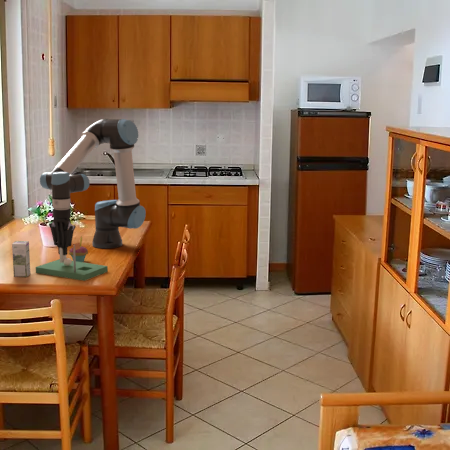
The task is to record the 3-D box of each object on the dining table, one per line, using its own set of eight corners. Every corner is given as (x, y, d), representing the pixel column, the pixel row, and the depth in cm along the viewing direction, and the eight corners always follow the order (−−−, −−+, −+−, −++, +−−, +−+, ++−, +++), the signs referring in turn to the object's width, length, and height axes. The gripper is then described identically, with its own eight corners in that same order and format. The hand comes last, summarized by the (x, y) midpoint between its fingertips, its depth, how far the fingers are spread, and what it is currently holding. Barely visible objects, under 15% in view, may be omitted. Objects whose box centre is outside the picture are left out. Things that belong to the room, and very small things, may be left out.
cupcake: (80, 258, 297) (79, 233, 295) (92, 261, 292) (91, 235, 290) (65, 261, 291) (64, 236, 288) (77, 264, 285) (76, 238, 283)
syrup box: (30, 273, 270) (29, 240, 267) (27, 277, 264) (25, 243, 262) (17, 273, 270) (15, 240, 267) (13, 277, 264) (11, 243, 261)
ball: (73, 257, 274) (73, 265, 274) (67, 256, 275) (67, 264, 276) (67, 259, 271) (68, 267, 271) (61, 258, 272) (62, 266, 273)
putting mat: (60, 264, 286) (59, 232, 283) (107, 271, 275) (106, 239, 272) (35, 272, 272) (34, 239, 269) (84, 280, 261) (83, 246, 258)
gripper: (43, 208, 269) (45, 261, 274) (67, 211, 264) (69, 265, 268) (55, 205, 276) (57, 258, 280) (79, 208, 270) (80, 261, 275)
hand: (63, 261), depth 274 cm, fingers closed
